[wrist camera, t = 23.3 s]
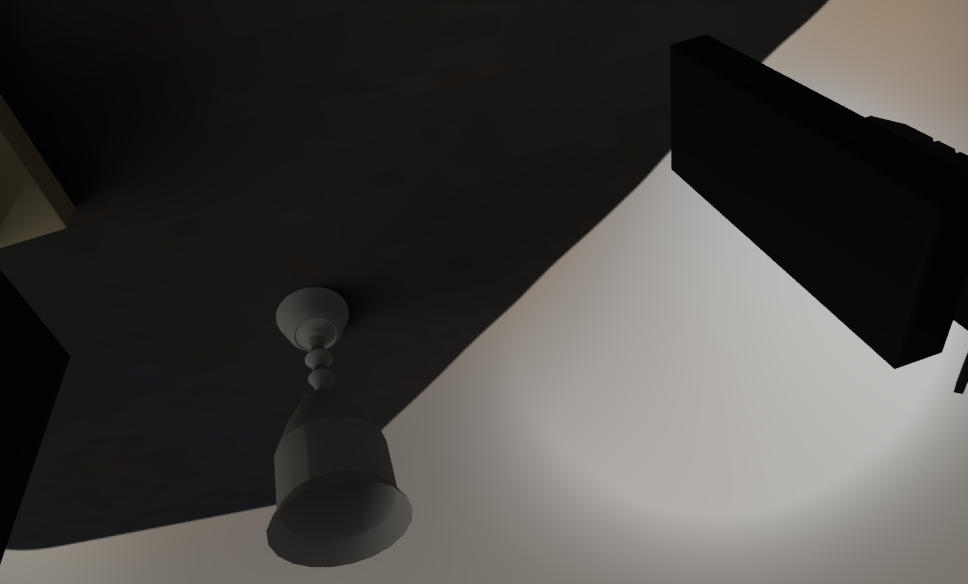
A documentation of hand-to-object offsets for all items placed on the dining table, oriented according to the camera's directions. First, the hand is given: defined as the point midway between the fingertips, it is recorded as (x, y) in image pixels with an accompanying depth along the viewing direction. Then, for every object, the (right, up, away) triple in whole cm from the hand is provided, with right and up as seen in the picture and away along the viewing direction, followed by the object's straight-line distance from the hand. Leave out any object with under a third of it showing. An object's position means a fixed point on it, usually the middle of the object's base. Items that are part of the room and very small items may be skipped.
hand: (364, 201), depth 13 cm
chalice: (-10, -3, +35) cm, 37 cm away
